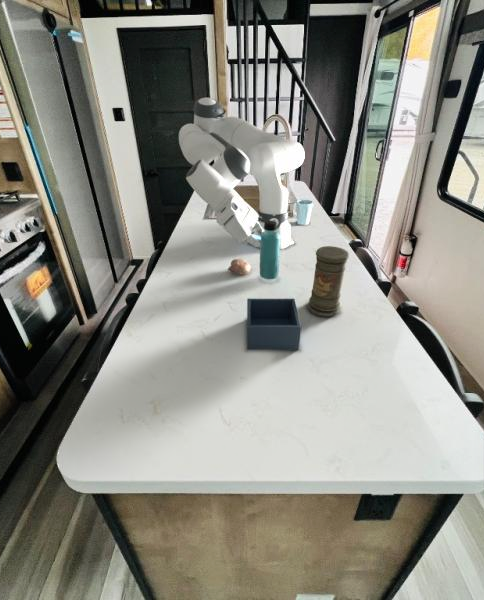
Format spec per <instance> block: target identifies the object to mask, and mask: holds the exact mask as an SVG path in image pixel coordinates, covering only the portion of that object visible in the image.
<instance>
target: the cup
mask: <svg viewBox="0 0 484 600" xmlns="http://www.w3.org/2000/svg"><path fill="white" fill-rule="evenodd" d="M313 206H314V202H313V201H312V200H310V199H299V200H297V201H296V223H297V225H300V226H306V225H309V223H310V218H311V215H312V214H311V213H312V209H313Z"/></svg>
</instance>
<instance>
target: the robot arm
mask: <svg viewBox="0 0 484 600" xmlns="http://www.w3.org/2000/svg"><path fill="white" fill-rule="evenodd" d="M226 115H227V111H226V109H225V108H224V107H223V106H222V104H221V103H220V102H219V101H218V100H217V99H215V98H211V97H201V98H198V99H197V100H196V101H195V102H194V105H193V123H186V124H184V125H183V126H182V127H181V128H180V129H179V132H178V145H179V147H180V150H181V152H182V155H183V157H184V158H185V159H186V161H187V162H188V163H189V164H190V165H192V166H191V167H190V169H189V170H188V171H187V173H186V176H185V179H186V181H187V183H188V184H189V186H190V187H191V188H192V189H193V190H194V192H195V193H196V194H197V196H199V198H201V199H202V200H203V201H204V202H205V203H206V204H208V205H209V206H210V207H211V209H212V211H213V212H214V213H215V215H216V223H217V225H219V226H220V227H223V228H224V230H225V231H226V232H227V233H228V234H229V235H230V236H232V238H234V240H235V241H237V242H239V243H241V244H242V243H244V242H245V241H246V242H248V245H251V246H253V247H255V248H259V249H260V243H261V242H260V241H261V238H260V236H261V234H262V233H263V232H265V231H268V230H265V229H264V223H265V222H266V221H275V222H277V230H274V231H276V232H277V233H278V234H279V235H280V245H279V250H284V249H286V248H287V247H290V246H292V245H294V244H295V241H294V240H293V239H292V237H291V229H292V227H291V226H292V225H291V224H290V222H288V217H289V210H288V203H289V202H288V201H289V191H288V188H287V187H286V186H285V185H283V184H282V180H281V174H285V173H289V172H292V171H294V170H296V169H298V168H299V167H301V166H302V164H303V163H304V160H305V149H304V146H303V145H302V144H301V143H300V142H298V141H296V140H292V139H287V138H284V137H282V136H279V135H277V134H273V133H270V132H268V131H265V130H262V129H261V128H259V127H257V126H256V125H254V124H253V123H250V122H249V121H247V120H245V119H242V118H240V117H237V116H226ZM217 157H218V158H217ZM216 158H217V159H216ZM215 159H216V160H215ZM214 160H215V161H214ZM213 161H214V163H213V164H211V162H213ZM210 164H211V165H210ZM249 174H250V175H251V176H252V177H253V178H254V179H255V182H256V184H257V187H258V191H259V192H258V194H259V195H258V197H259V200H258V201H259V203H258V204H259V209H258V212H256V210H255V209H254V208H253V207H252V206H250V204H249V203H247V202H246V201H245V200H244V199H243V197H241V195H240V194H238V192H237V191H236V190H235V189H234V188H235V187H236V186H237V185H238V184H239V183H240V182H241V181H242V180H243V179H245V178H246V177H247V176H248V175H249ZM252 231H253V233H252Z"/></svg>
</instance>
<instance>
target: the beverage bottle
mask: <svg viewBox="0 0 484 600" xmlns="http://www.w3.org/2000/svg"><path fill="white" fill-rule="evenodd" d="M264 229H265V230H268V231H265V232H263V233H262V234H261V236H260V238H261V241H260V242H261V243H260V248H259V250H260V251H259V276H260V277H261V278H262V279H264V280H274V279H276V278H278V276H279V273H280V272H279V271H280V270H279V269H280V257H281V256H280V249H279V245H280V235H279V234H278V233H277V232H276V231H274V230H277V222H275V221H266V222H265V223H264Z"/></svg>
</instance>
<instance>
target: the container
mask: <svg viewBox="0 0 484 600" xmlns="http://www.w3.org/2000/svg"><path fill="white" fill-rule="evenodd" d="M315 256H316V257H315V258H316V263H315V266H314V267H315V268H314V276H313V284H312V289H311V295H310V297H309V299H308V303H307V307H308V311H310V312H311V313H312V314H313V315H315V316H317V317H321V318H331V317H334V316H336V315H338V313H339V312H340V305H341V303H340V299H341V291H342V287H343V280H344V276H345V272H346V265H347V264H346V263H347V262H348V259H349V258H350V253H349V252H348V251H347V250H346V249H344V248H342V247H338V246H332V245H325V246H321V247H319V248H317V250H316V251H315Z"/></svg>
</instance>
